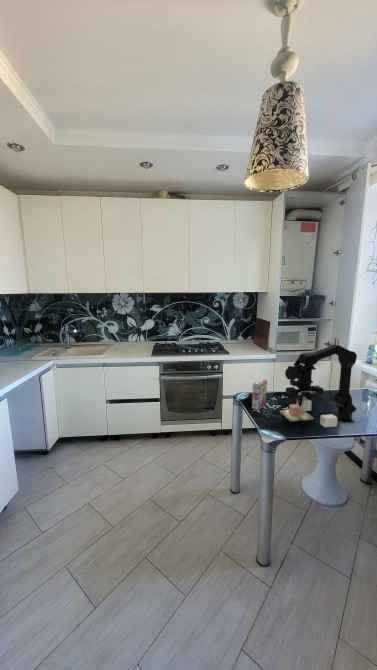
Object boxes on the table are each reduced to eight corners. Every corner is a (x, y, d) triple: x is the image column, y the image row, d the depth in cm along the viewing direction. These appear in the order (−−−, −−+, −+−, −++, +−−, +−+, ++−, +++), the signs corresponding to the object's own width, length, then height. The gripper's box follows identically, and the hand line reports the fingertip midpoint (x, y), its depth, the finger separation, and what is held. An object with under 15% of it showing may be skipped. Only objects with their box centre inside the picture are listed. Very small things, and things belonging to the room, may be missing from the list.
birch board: (301, 410, 157) (301, 408, 157) (313, 419, 145) (313, 417, 145) (279, 411, 155) (279, 410, 155) (290, 421, 143) (290, 419, 143)
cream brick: (331, 422, 142) (332, 414, 141) (336, 426, 138) (337, 417, 137) (319, 423, 141) (320, 415, 140) (324, 427, 137) (325, 418, 136)
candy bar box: (259, 411, 157) (260, 385, 154) (251, 408, 160) (252, 383, 157) (266, 404, 165) (267, 380, 163) (259, 402, 168) (260, 378, 166)
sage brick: (296, 405, 141) (296, 396, 140) (303, 404, 141) (303, 396, 140) (304, 411, 134) (304, 401, 133) (311, 410, 134) (311, 401, 134)
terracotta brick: (299, 412, 152) (300, 403, 152) (303, 415, 149) (304, 406, 148) (288, 412, 151) (289, 404, 151) (292, 416, 148) (292, 407, 147)
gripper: (312, 372, 144) (310, 398, 147) (280, 374, 142) (279, 401, 144) (325, 378, 133) (323, 407, 136) (292, 380, 131) (290, 409, 133)
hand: (303, 405), depth 137 cm, fingers closed on sage brick, 4 cm apart
